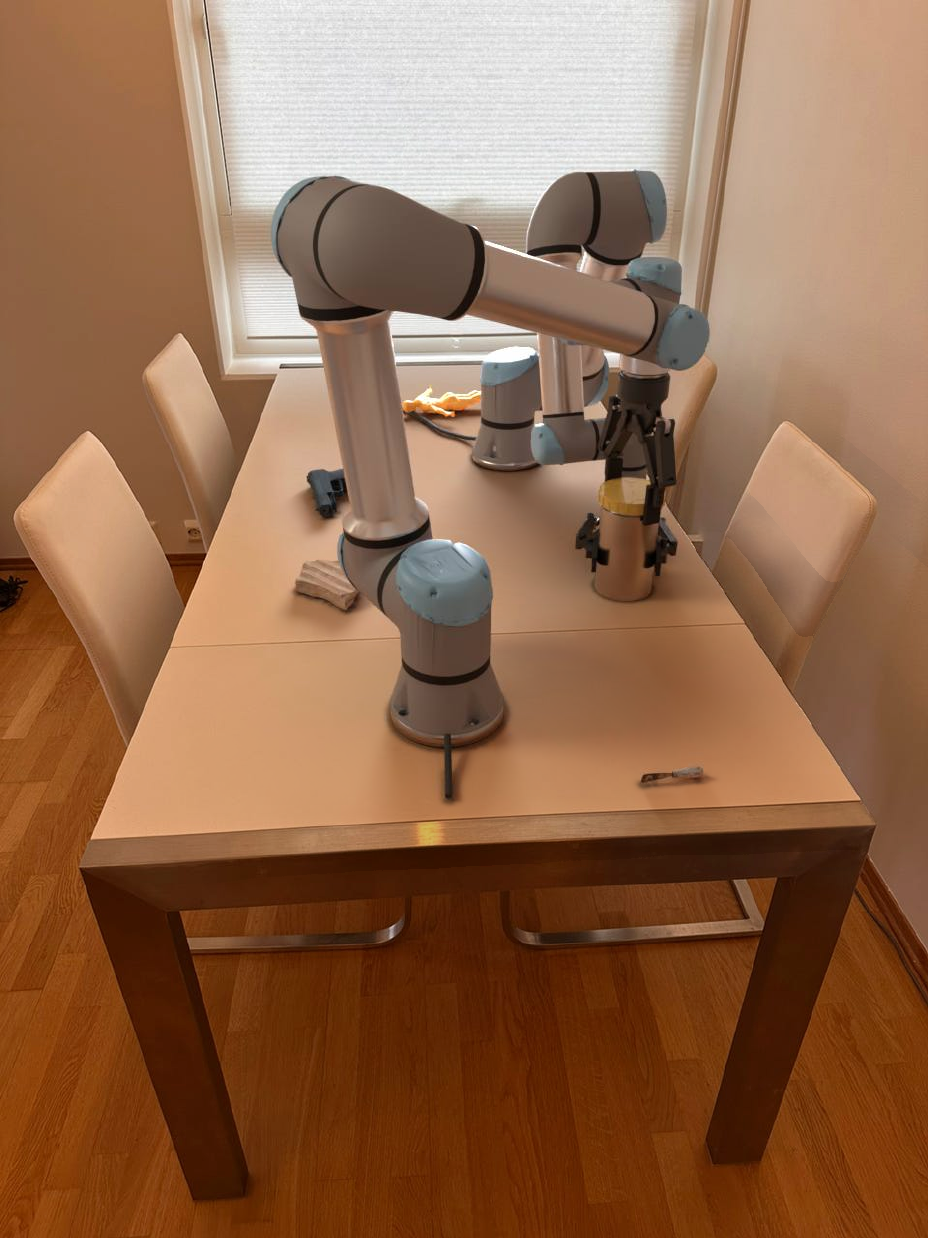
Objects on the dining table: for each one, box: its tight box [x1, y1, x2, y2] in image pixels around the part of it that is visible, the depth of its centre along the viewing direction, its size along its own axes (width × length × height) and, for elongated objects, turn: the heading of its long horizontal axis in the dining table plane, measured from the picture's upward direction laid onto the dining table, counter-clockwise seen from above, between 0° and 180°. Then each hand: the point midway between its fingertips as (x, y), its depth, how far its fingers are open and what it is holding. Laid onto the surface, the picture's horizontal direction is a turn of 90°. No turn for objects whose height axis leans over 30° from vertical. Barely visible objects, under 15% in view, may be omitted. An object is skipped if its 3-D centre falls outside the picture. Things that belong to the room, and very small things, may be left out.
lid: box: [597, 477, 667, 516], centre depth 141 cm, size 10×10×2 cm
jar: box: [593, 504, 659, 602], centre depth 145 cm, size 9×9×17 cm
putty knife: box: [640, 765, 705, 784], centre depth 109 cm, size 1×8×2 cm, turn 103°
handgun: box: [305, 468, 347, 518], centre depth 180 cm, size 3×18×12 cm
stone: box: [294, 559, 360, 611], centre depth 149 cm, size 13×12×3 cm
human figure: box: [402, 385, 481, 418], centre depth 225 cm, size 20×20×4 cm
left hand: (630, 509), depth 142 cm, fingers closed on lid, 10 cm apart
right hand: (626, 566), depth 143 cm, fingers closed on jar, 9 cm apart
